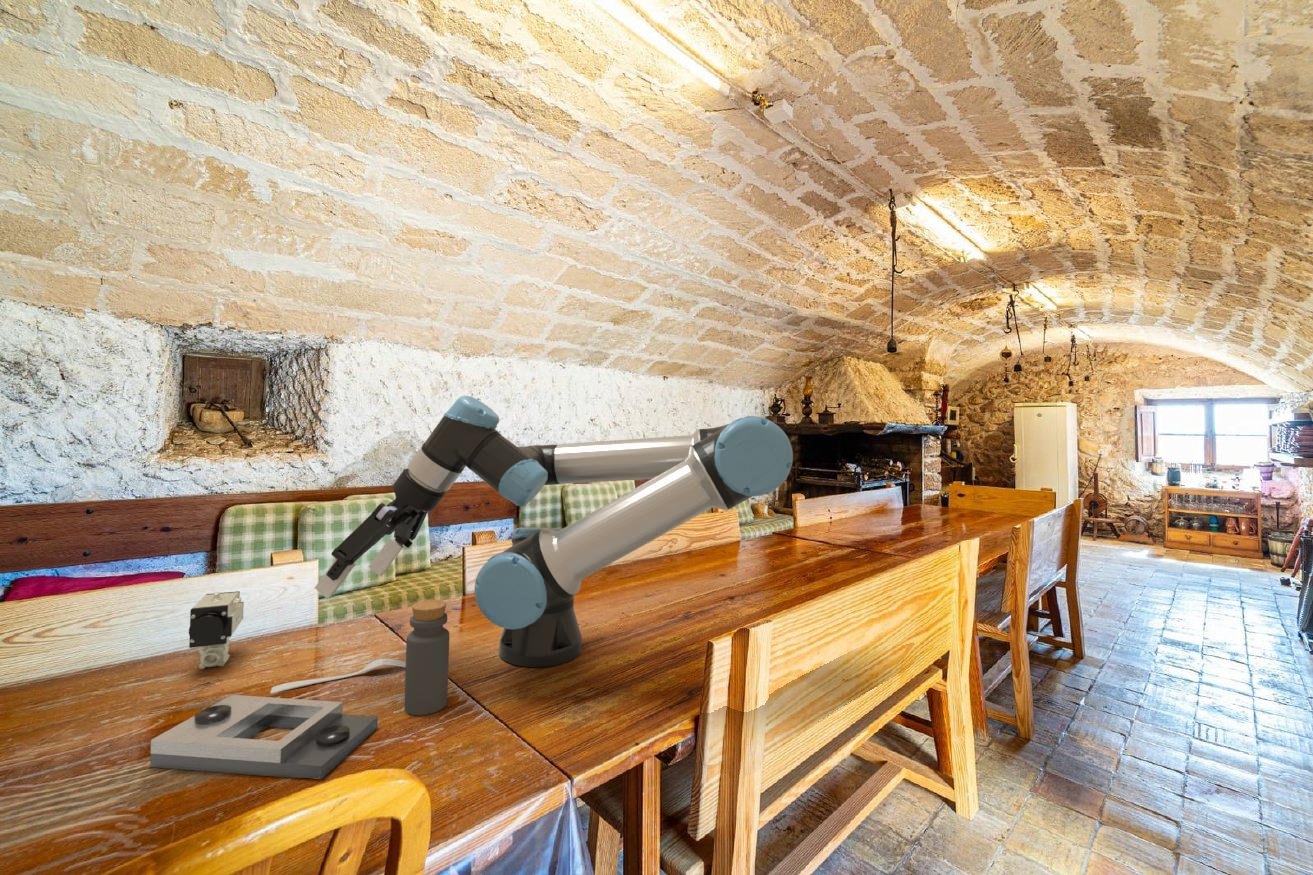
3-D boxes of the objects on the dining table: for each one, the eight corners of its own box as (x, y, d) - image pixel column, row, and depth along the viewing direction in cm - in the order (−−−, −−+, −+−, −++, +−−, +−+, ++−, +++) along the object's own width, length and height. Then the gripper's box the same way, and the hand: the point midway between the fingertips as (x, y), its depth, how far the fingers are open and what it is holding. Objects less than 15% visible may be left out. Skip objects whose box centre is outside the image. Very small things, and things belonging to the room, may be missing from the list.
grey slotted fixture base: (377, 728, 72) (378, 700, 72) (321, 780, 61) (322, 747, 61) (230, 717, 73) (231, 690, 73) (150, 767, 62) (151, 734, 62)
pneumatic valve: (185, 681, 83) (187, 605, 83) (206, 653, 94) (208, 585, 94) (229, 674, 86) (232, 600, 86) (245, 648, 96) (247, 582, 96)
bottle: (412, 696, 81) (416, 598, 81) (452, 695, 81) (455, 598, 81) (397, 716, 75) (401, 610, 75) (440, 715, 76) (443, 610, 76)
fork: (269, 704, 83) (267, 686, 82) (415, 664, 93) (414, 649, 93) (267, 712, 80) (265, 694, 80) (417, 671, 90) (415, 655, 90)
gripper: (444, 462, 100) (377, 551, 101) (362, 470, 75) (275, 587, 76) (474, 487, 100) (408, 576, 100) (403, 502, 75) (315, 620, 75)
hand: (350, 581), depth 88 cm, fingers open, 13 cm apart
